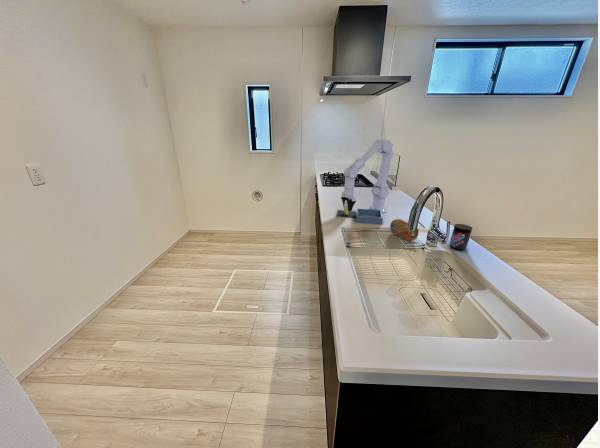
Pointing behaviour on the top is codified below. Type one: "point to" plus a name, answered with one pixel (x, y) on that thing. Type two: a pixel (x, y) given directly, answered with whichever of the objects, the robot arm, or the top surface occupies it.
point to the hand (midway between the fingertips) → (347, 209)
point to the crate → (369, 219)
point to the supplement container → (460, 237)
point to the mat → (341, 214)
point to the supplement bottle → (346, 209)
